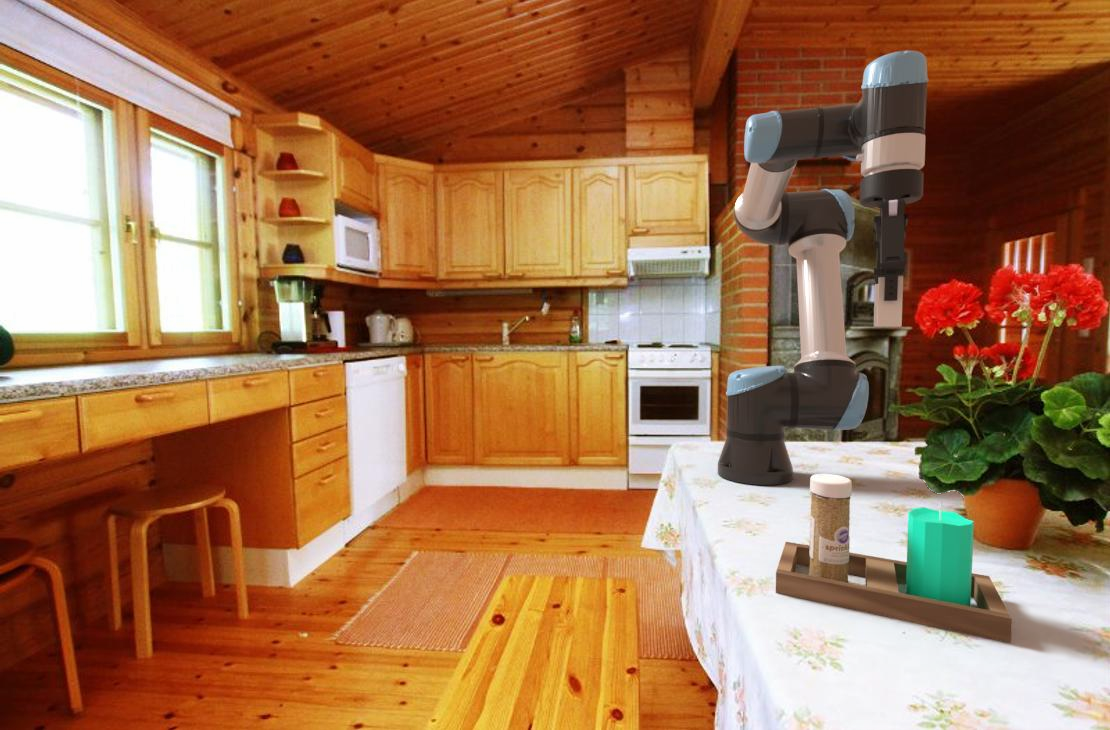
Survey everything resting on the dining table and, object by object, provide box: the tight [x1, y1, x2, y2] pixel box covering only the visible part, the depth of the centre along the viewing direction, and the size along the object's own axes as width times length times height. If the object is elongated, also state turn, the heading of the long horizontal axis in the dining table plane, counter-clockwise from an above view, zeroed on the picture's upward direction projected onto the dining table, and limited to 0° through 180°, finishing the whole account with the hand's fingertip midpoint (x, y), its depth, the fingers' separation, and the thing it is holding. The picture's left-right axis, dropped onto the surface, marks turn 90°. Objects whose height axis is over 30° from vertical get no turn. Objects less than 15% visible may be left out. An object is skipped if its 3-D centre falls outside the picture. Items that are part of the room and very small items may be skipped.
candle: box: [905, 502, 975, 607], centre depth 61 cm, size 6×6×12 cm
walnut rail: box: [775, 541, 1013, 644], centre depth 64 cm, size 10×22×2 cm, turn 61°
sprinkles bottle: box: [808, 473, 853, 583], centre depth 66 cm, size 5×5×14 cm
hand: (886, 327), depth 76 cm, fingers open, 13 cm apart
